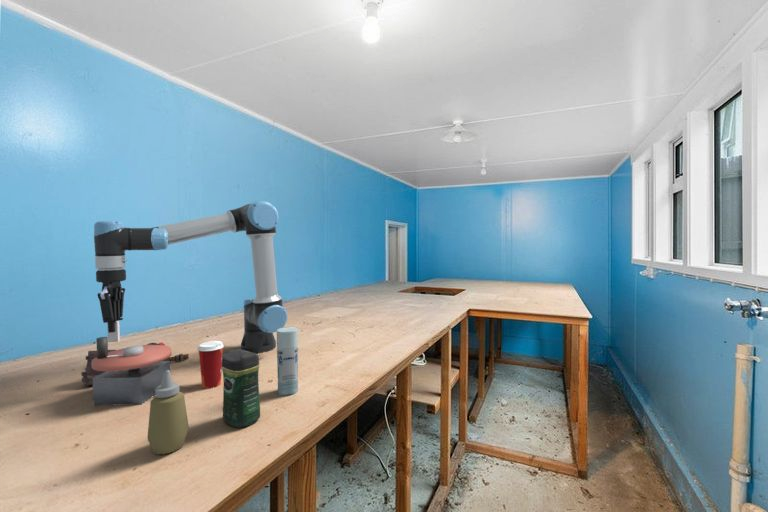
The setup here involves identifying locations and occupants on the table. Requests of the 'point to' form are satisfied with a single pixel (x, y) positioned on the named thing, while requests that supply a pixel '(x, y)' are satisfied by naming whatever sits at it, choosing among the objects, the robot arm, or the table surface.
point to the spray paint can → (287, 360)
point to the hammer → (91, 373)
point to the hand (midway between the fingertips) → (114, 341)
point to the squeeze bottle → (167, 417)
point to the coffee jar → (240, 388)
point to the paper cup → (211, 363)
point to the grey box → (128, 385)
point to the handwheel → (127, 356)
